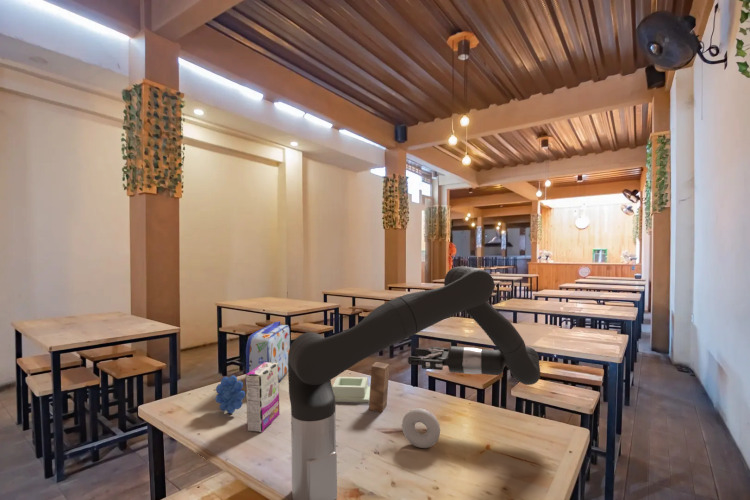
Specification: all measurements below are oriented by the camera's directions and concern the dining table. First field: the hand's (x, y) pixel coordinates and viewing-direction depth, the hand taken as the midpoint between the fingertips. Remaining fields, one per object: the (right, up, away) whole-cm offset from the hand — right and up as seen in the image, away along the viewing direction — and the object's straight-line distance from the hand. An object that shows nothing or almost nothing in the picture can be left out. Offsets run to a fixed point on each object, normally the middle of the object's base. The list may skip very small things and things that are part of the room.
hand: (411, 355), depth 114 cm
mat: (-20, -18, +14) cm, 30 cm away
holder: (-20, -18, +14) cm, 30 cm away
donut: (0, -18, -19) cm, 26 cm away
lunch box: (-52, -18, +29) cm, 63 cm away
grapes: (-56, -19, +3) cm, 59 cm away
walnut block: (-11, -18, +4) cm, 21 cm away
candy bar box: (-44, -19, -5) cm, 48 cm away
